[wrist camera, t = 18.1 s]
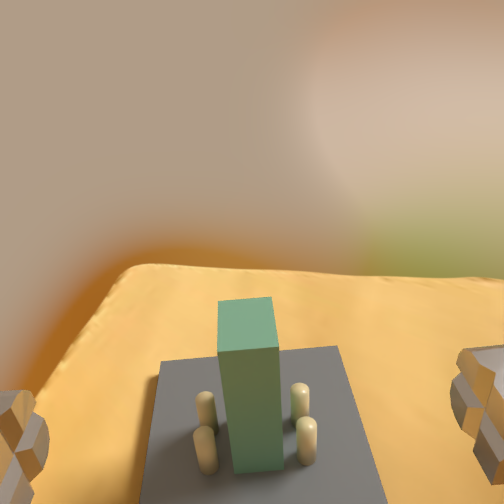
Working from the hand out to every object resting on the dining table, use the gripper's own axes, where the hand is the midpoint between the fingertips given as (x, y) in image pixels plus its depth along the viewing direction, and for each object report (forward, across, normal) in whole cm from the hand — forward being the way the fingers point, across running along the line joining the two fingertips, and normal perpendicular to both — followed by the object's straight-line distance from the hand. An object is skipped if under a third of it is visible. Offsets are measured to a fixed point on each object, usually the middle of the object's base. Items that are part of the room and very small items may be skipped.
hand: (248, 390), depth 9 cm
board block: (+12, 0, +18) cm, 22 cm away
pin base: (+12, 0, +20) cm, 23 cm away
